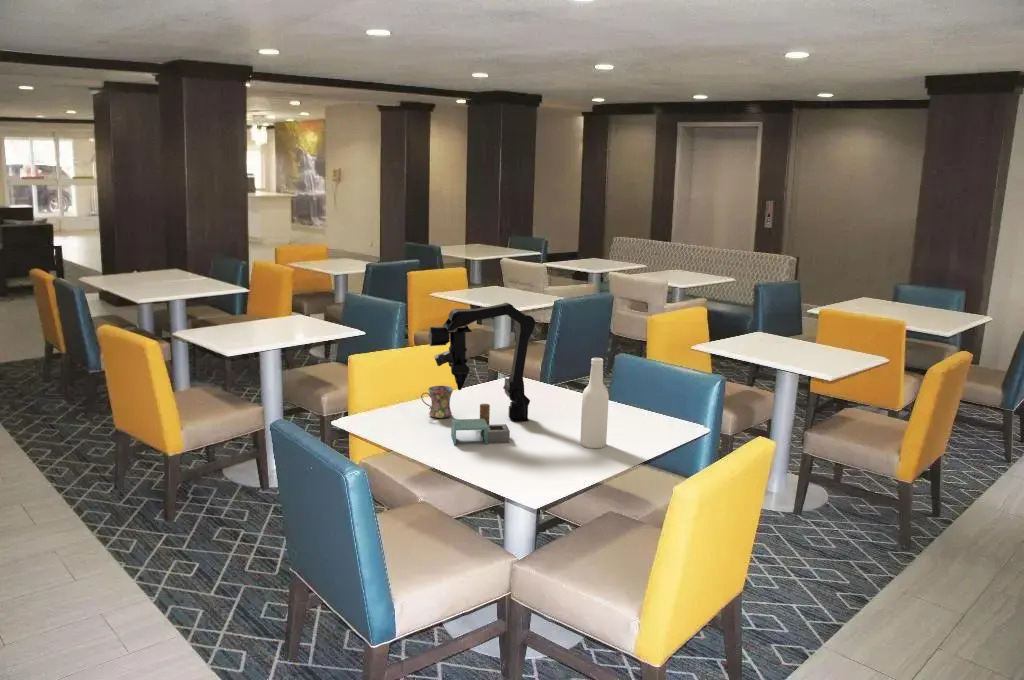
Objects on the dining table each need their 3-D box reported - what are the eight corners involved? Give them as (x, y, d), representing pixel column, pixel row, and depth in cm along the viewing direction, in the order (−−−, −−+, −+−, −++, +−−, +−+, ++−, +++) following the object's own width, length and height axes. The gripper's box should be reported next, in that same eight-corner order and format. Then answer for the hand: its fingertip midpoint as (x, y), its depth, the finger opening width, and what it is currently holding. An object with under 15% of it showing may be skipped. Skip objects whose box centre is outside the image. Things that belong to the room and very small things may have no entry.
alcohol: (609, 448, 279) (613, 361, 273) (583, 449, 277) (587, 361, 271) (602, 440, 287) (606, 355, 281) (577, 441, 286) (581, 355, 280)
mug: (450, 412, 316) (451, 385, 314) (454, 419, 308) (455, 391, 305) (419, 413, 314) (419, 386, 311) (422, 420, 305) (422, 392, 303)
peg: (488, 424, 302) (489, 403, 300) (489, 427, 298) (490, 406, 297) (478, 425, 301) (479, 403, 300) (480, 427, 298) (480, 406, 296)
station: (505, 434, 291) (505, 418, 289) (510, 443, 281) (510, 426, 280) (451, 436, 287) (451, 419, 286) (454, 445, 278) (454, 428, 277)
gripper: (434, 339, 305) (434, 381, 309) (437, 350, 287) (437, 394, 290) (464, 339, 307) (464, 380, 310) (469, 349, 289) (469, 393, 292)
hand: (458, 386), depth 301 cm, fingers open, 9 cm apart
